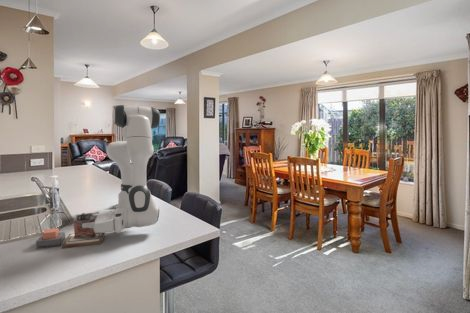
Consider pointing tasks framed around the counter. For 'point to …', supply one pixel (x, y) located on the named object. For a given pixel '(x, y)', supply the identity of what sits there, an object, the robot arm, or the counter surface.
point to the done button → (51, 233)
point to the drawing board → (82, 241)
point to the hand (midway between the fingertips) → (84, 221)
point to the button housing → (50, 241)
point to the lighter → (83, 232)
